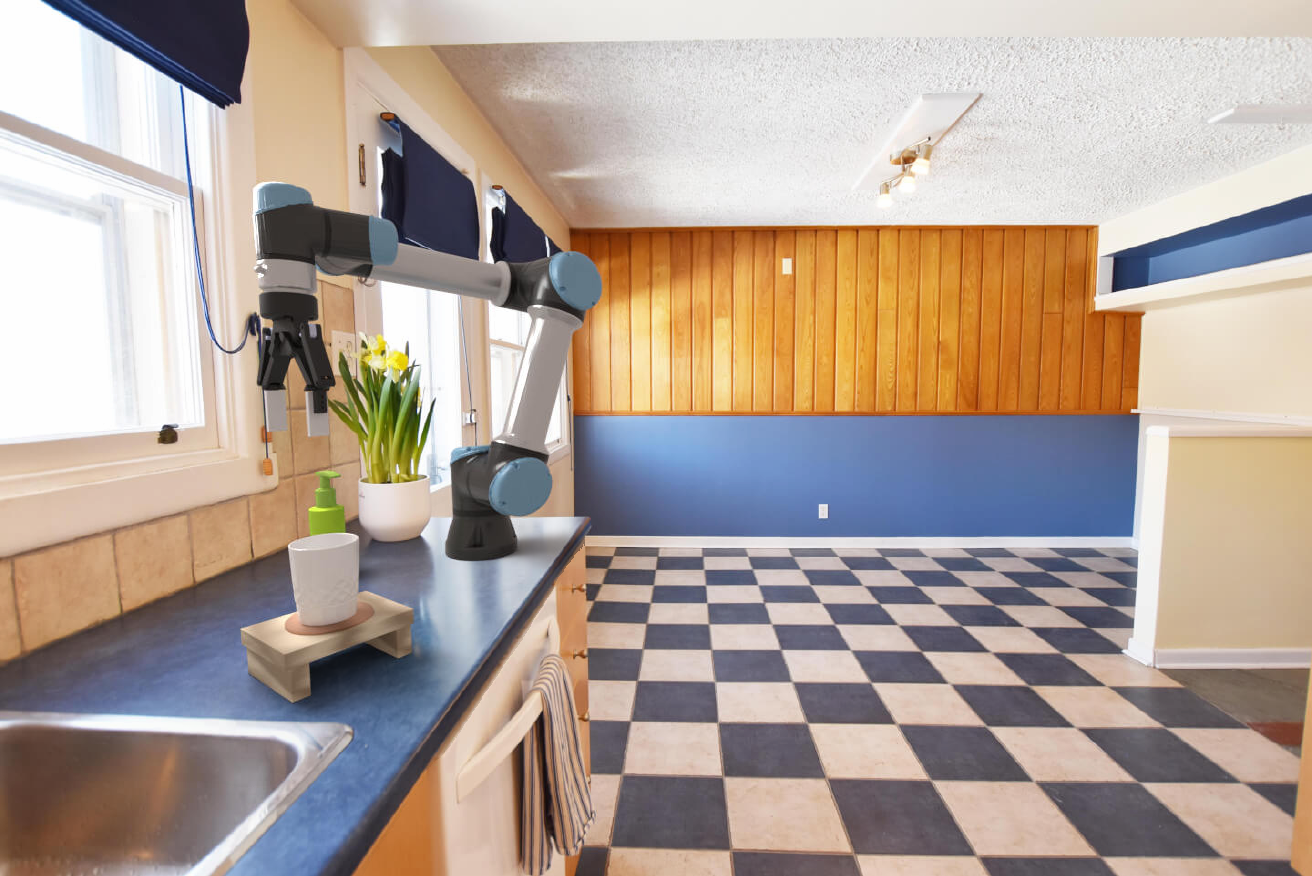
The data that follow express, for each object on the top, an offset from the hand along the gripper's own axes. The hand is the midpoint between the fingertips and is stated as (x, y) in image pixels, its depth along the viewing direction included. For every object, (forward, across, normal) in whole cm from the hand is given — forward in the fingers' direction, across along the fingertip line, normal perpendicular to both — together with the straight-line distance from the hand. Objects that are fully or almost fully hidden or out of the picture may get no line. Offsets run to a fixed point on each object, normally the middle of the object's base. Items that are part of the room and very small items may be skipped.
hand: (297, 433), depth 89 cm
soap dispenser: (+29, -15, +11) cm, 34 cm away
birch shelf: (+29, +20, -6) cm, 35 cm away
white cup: (+22, +20, -6) cm, 31 cm away
